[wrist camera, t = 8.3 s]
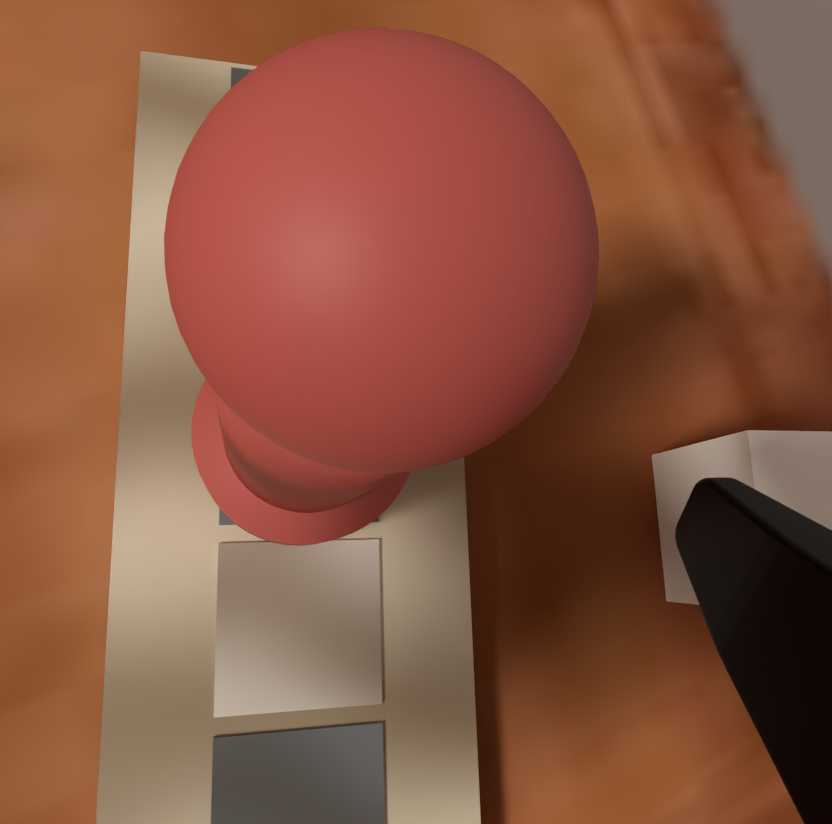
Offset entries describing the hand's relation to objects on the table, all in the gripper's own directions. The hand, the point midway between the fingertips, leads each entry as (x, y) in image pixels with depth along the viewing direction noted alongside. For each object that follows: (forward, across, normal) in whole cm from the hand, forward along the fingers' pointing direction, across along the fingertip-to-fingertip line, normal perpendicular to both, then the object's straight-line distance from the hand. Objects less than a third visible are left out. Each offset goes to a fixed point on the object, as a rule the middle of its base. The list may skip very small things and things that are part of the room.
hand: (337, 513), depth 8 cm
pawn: (+7, 0, +4) cm, 9 cm away
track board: (+8, 0, +5) cm, 10 cm away
